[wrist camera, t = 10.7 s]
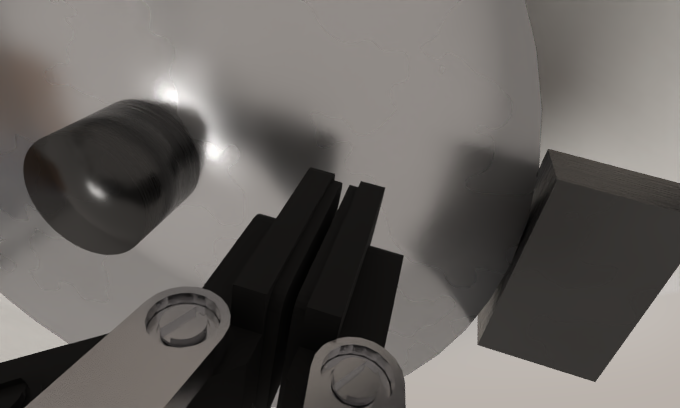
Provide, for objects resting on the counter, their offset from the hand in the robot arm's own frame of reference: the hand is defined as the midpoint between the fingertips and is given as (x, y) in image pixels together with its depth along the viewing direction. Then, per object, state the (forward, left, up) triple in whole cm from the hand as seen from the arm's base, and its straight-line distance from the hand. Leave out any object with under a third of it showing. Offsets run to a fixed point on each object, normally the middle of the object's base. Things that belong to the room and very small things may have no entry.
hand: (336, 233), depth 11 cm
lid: (0, -4, -3) cm, 5 cm away
